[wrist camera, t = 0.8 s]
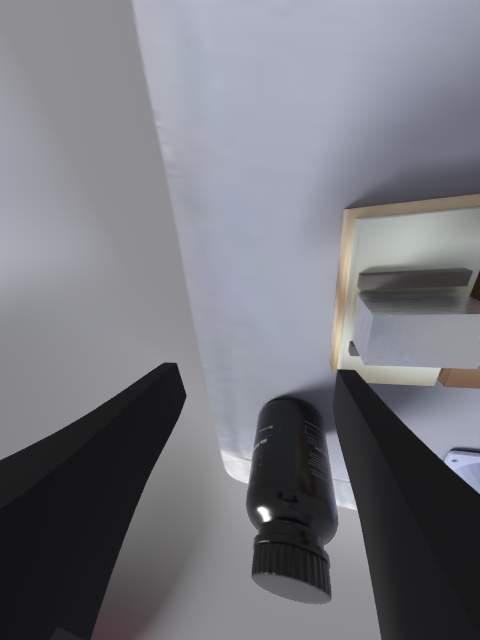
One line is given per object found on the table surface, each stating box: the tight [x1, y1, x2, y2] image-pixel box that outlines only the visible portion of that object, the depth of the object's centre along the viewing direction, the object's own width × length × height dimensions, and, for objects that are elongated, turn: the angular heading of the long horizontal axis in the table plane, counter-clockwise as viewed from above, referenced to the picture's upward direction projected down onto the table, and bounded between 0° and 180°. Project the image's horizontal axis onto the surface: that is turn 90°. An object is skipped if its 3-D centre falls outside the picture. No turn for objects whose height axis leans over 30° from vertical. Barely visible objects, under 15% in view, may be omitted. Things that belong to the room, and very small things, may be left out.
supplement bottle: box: [246, 399, 338, 604], centre depth 18 cm, size 7×7×12 cm
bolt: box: [351, 291, 480, 369], centre depth 12 cm, size 3×5×3 cm, turn 97°
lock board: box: [330, 193, 480, 389], centre depth 12 cm, size 12×13×6 cm
